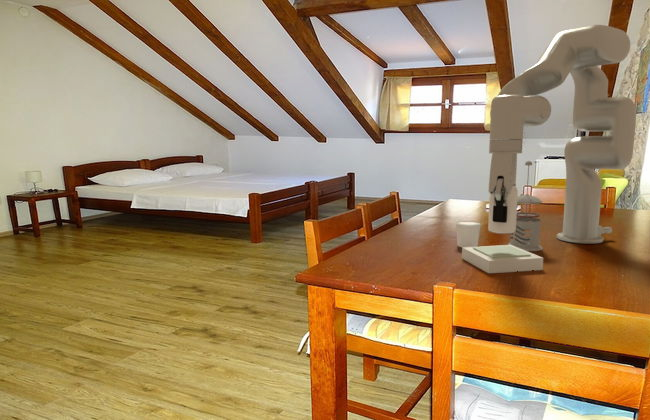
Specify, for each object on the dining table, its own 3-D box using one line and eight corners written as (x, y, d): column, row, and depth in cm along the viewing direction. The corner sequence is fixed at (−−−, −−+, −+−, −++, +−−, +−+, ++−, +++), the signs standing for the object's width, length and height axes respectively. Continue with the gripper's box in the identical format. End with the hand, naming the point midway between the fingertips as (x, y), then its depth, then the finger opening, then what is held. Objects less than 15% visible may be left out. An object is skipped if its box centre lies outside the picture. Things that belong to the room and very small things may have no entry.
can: (483, 229, 117) (485, 183, 115) (507, 228, 117) (510, 182, 116) (495, 234, 111) (497, 185, 109) (520, 233, 111) (523, 185, 109)
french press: (527, 252, 126) (532, 162, 122) (494, 244, 136) (497, 160, 132) (550, 248, 130) (555, 161, 126) (516, 240, 140) (520, 159, 137)
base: (510, 255, 123) (511, 243, 122) (542, 269, 109) (543, 256, 109) (461, 258, 121) (462, 245, 120) (488, 273, 107) (489, 259, 107)
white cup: (481, 249, 131) (482, 225, 130) (456, 248, 132) (457, 224, 131) (478, 243, 137) (478, 220, 136) (454, 243, 139) (455, 220, 138)
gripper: (496, 146, 120) (493, 213, 123) (481, 148, 105) (478, 224, 108) (527, 146, 116) (523, 216, 119) (516, 147, 101) (512, 227, 104)
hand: (502, 219), depth 113 cm, fingers closed on can, 6 cm apart
